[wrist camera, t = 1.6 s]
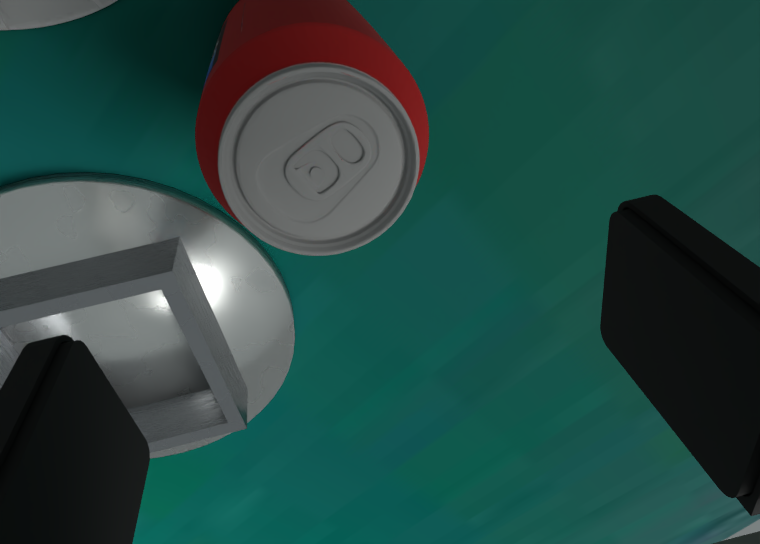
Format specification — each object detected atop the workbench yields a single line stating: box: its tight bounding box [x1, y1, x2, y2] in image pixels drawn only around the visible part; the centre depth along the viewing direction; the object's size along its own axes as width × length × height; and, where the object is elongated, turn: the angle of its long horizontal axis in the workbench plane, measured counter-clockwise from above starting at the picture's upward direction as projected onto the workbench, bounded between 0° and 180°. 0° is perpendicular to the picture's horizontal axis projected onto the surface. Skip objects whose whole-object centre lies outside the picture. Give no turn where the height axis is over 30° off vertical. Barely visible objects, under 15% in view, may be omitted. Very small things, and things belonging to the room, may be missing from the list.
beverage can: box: [195, 0, 429, 256], centre depth 19 cm, size 7×7×12 cm
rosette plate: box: [0, 173, 295, 458], centre depth 29 cm, size 19×19×4 cm
